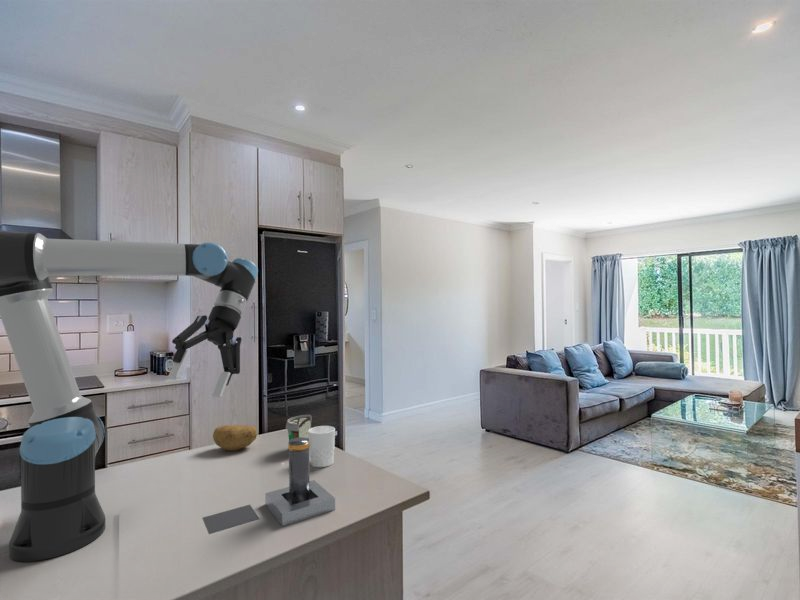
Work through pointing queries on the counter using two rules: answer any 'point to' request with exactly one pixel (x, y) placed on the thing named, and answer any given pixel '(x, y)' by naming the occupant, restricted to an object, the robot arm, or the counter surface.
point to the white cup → (322, 445)
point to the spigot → (299, 470)
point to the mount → (230, 518)
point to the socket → (299, 504)
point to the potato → (234, 436)
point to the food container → (299, 426)
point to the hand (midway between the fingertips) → (196, 387)
